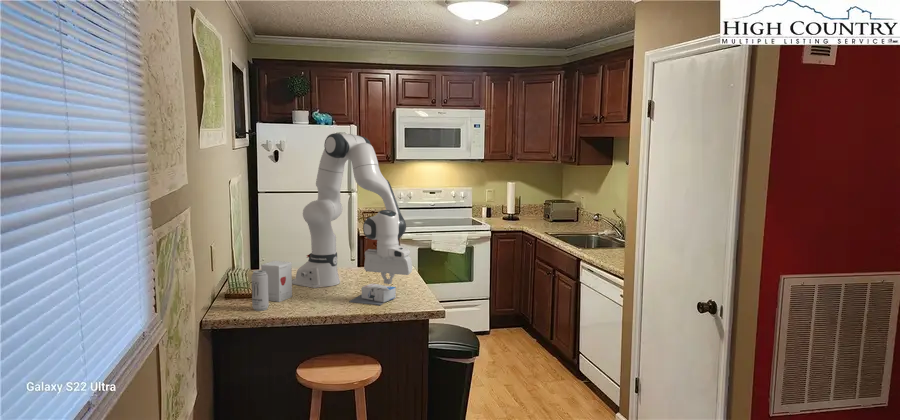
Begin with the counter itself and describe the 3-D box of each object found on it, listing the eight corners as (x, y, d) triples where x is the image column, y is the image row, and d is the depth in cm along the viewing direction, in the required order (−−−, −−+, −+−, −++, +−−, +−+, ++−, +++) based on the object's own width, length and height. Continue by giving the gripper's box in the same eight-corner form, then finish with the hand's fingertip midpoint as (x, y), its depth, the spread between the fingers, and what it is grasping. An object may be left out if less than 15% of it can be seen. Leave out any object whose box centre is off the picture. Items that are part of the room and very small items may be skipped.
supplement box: (279, 302, 233) (278, 266, 232) (261, 300, 236) (260, 264, 235) (293, 296, 242) (292, 261, 240) (275, 294, 245) (274, 260, 243)
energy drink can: (249, 310, 223) (247, 272, 221) (260, 306, 228) (258, 269, 226) (261, 312, 220) (260, 273, 218) (272, 307, 226) (271, 270, 224)
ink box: (396, 298, 240) (373, 294, 246) (396, 286, 239) (373, 282, 245) (383, 302, 232) (361, 299, 238) (383, 290, 232) (360, 287, 238)
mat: (349, 302, 235) (348, 301, 235) (363, 294, 247) (363, 293, 247) (380, 305, 230) (380, 304, 230) (393, 297, 242) (393, 296, 242)
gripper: (361, 249, 234) (361, 283, 236) (407, 253, 227) (407, 287, 229) (368, 247, 240) (368, 279, 242) (413, 250, 233) (413, 283, 235)
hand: (387, 283), depth 235 cm, fingers closed
